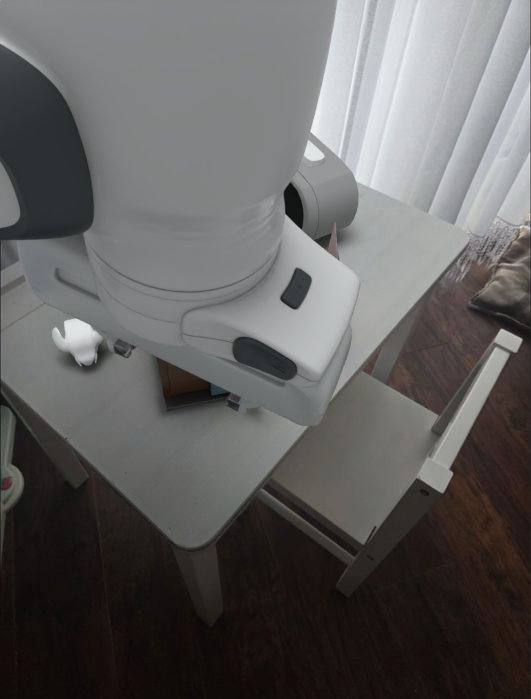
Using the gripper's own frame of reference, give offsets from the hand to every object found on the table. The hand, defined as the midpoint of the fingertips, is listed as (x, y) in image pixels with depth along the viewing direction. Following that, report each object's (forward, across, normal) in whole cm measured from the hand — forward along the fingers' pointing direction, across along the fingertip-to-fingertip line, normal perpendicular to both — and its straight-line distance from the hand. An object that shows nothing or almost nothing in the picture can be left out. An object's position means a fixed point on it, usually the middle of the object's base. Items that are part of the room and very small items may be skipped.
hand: (181, 374), depth 36 cm
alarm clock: (+30, -5, +49) cm, 57 cm away
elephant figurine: (+29, -20, +10) cm, 36 cm away
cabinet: (+28, -5, +16) cm, 32 cm away
